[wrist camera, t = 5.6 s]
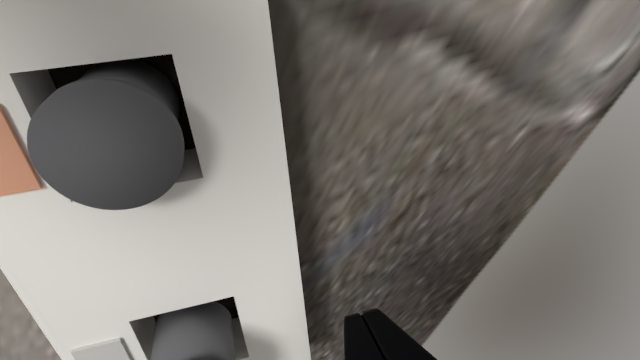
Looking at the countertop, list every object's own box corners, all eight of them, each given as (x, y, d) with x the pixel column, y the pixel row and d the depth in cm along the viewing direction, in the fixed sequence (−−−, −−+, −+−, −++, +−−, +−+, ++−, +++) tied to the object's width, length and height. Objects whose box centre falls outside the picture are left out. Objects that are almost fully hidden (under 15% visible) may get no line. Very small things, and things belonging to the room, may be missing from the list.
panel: (301, 327, 27) (312, 369, 24) (114, 376, 25) (104, 428, 22) (252, -41, 15) (263, -38, 13) (-109, -12, 13) (-187, -1, 10)
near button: (197, 145, 18) (197, 196, 15) (91, 162, 17) (62, 221, 14) (171, 43, 16) (163, 73, 12) (47, 57, 15) (-3, 95, 11)
